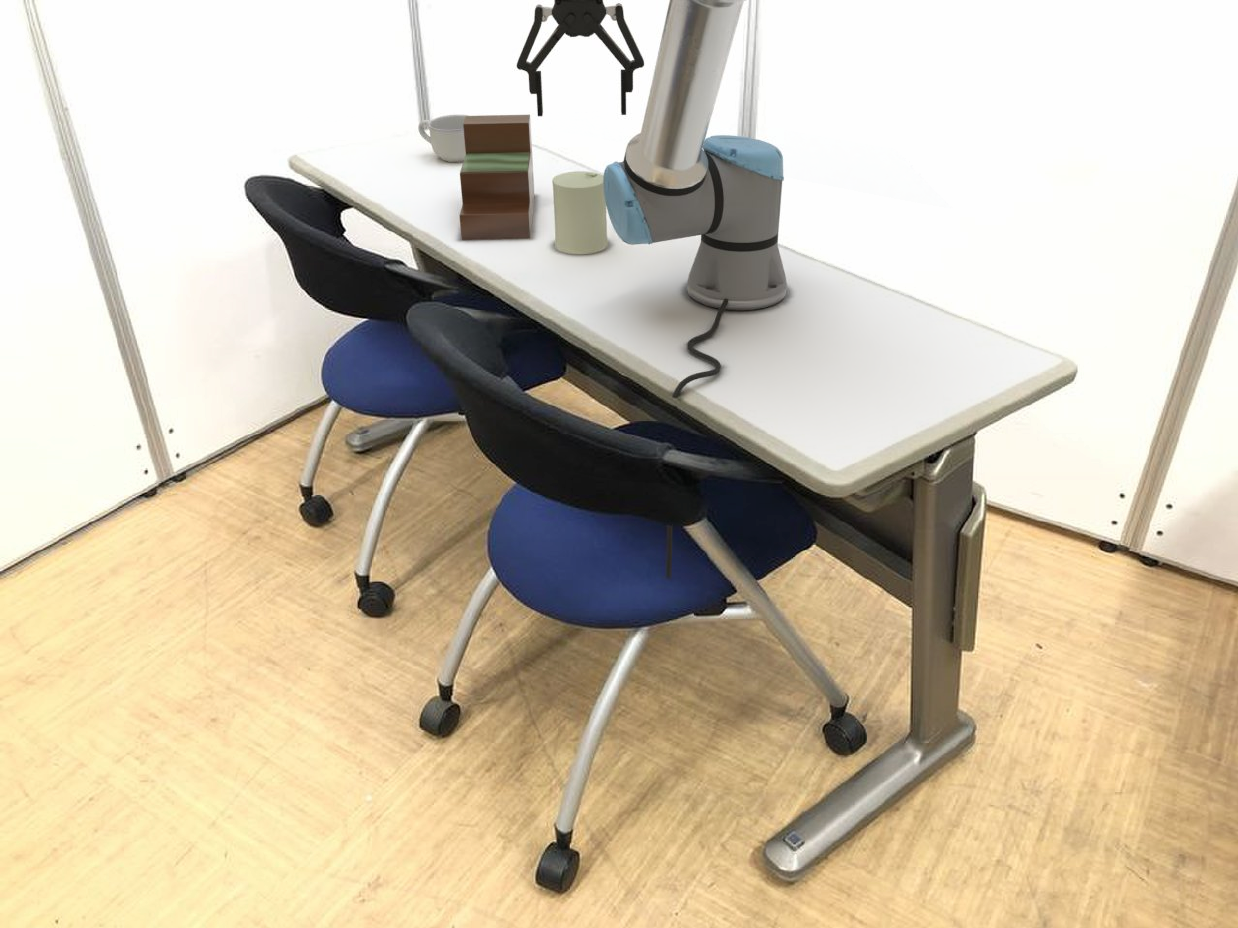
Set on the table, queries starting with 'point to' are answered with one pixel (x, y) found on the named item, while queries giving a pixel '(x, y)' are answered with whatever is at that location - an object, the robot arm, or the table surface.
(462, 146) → the teacup
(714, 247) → the robot arm
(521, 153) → the shelf riser
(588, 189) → the can
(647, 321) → the table surface
